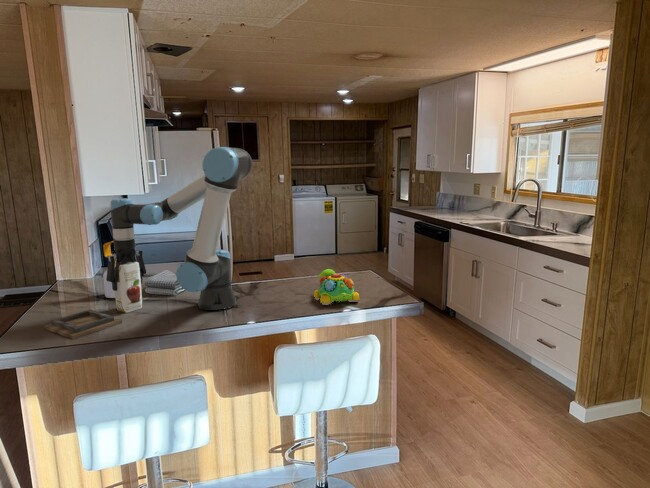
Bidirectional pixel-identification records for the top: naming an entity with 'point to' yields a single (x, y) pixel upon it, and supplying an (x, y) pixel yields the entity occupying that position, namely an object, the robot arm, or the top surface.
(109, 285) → the soap bottle
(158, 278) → the towel
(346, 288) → the turtle toy
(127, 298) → the juice carton
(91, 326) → the base plate
